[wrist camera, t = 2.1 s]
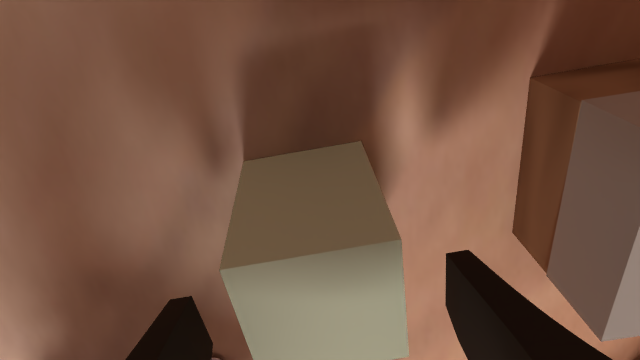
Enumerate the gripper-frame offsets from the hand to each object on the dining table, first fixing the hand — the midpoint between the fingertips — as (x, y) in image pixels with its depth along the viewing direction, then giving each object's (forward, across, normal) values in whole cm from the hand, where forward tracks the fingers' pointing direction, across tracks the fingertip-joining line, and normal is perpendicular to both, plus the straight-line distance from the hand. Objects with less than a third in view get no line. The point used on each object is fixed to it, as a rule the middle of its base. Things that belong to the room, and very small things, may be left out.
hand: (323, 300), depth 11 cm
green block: (+5, 0, 0) cm, 5 cm away
